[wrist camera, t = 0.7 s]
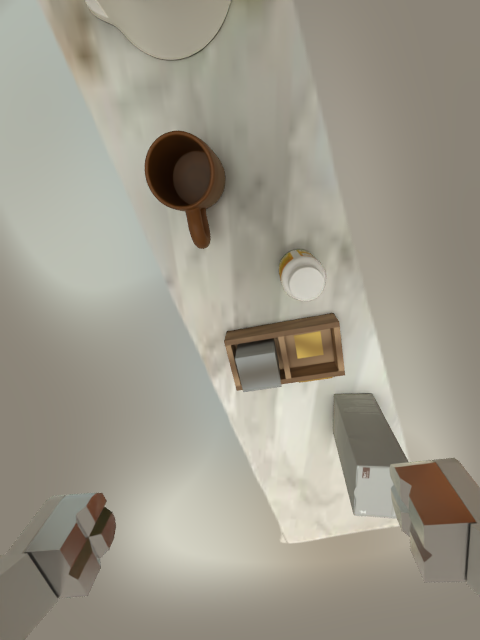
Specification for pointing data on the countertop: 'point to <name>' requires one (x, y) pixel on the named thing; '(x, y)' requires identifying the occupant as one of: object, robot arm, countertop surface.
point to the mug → (186, 179)
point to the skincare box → (366, 453)
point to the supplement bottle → (302, 275)
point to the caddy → (285, 352)
